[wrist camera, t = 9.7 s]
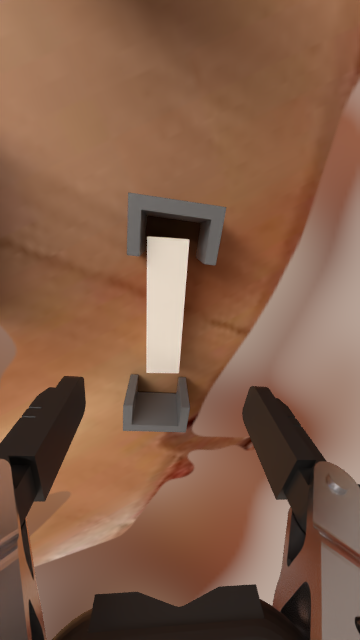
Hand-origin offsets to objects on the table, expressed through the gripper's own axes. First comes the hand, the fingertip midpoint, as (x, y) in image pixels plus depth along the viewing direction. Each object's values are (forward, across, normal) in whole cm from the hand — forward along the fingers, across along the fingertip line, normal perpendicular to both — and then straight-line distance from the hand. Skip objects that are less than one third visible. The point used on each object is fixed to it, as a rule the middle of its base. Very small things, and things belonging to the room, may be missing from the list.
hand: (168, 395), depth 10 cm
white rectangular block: (+16, 0, 0) cm, 16 cm away
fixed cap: (+16, 0, -7) cm, 17 cm away
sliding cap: (+16, 0, +15) cm, 21 cm away
